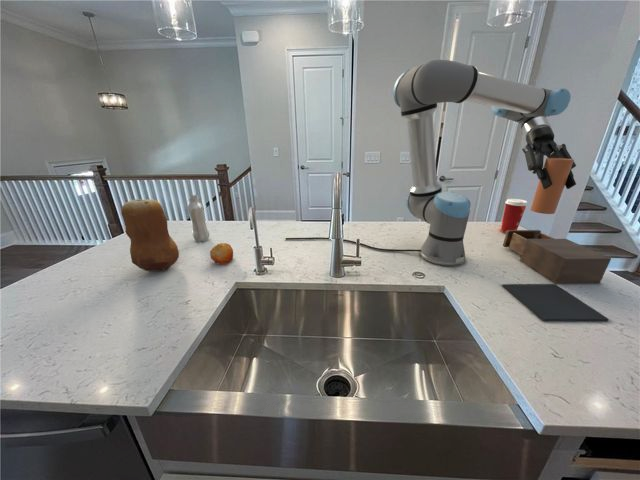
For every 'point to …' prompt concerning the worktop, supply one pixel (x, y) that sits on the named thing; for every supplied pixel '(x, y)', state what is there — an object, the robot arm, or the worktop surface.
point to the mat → (553, 303)
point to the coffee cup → (513, 214)
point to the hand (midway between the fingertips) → (559, 186)
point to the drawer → (521, 238)
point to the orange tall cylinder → (550, 197)
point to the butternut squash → (149, 235)
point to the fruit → (222, 253)
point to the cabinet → (564, 261)
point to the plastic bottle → (197, 219)
